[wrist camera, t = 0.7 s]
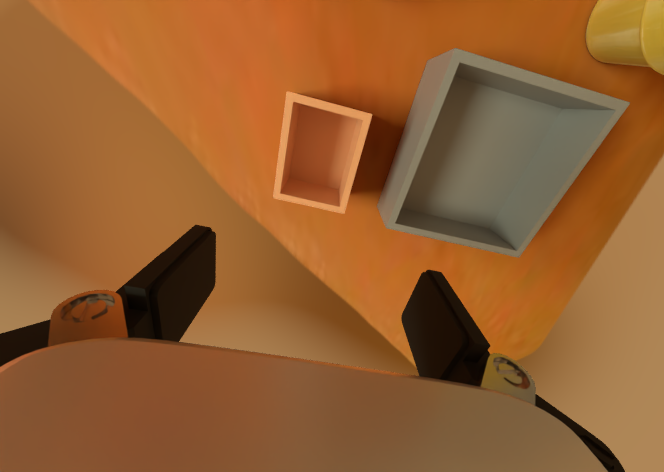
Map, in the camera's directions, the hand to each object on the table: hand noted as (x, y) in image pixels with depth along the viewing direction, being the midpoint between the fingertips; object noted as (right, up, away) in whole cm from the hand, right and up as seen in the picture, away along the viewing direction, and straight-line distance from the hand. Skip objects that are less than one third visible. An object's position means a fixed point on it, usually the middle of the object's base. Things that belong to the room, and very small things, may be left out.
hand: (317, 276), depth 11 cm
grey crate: (+15, +10, +16) cm, 24 cm away
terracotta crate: (-1, +11, +16) cm, 20 cm away
